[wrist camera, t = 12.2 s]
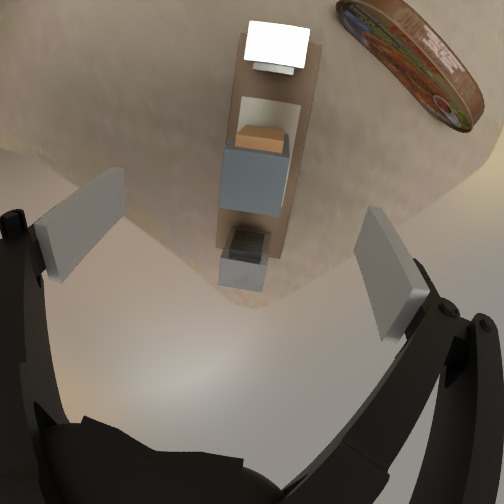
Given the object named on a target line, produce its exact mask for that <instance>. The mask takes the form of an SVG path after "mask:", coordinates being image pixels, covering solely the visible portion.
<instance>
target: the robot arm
mask: <svg viewBox="0 0 504 504" xmlns="http://www.w3.org/2000/svg"><path fill="white" fill-rule="evenodd" d="M125 213H126V202H125V184H124V168H121V167H111V168H110V169H108V170H107V171H105V172H104V173H102V174H100V175H99V176H97V177H96V178H94V179H93V180H91V181H90V182H88V183H87V184H86V185H84V186H83V187H81V188H80V189H79V190H77V191H76V192H74V193H73V194H72V195H70V196H69V197H67V198H66V199H65V200H63V201H62V202H60V203H59V204H58V205H57V206H55V207H53V208H52V209H51V210H49V211H48V212H47V213H46V214H44V215H43V216H42V217H41V218H39V219H38V220H37V221H36V222H34V223H33V224H32V225H31V226H30V227H29V228H28V227H27V223H26V219H25V214H24V211H23V210H22V209H15V210H11V211H8V212H6V213H5V214H3V215H2V216H1V217H0V231H1V234H2V239H0V504H373V502H374V501H375V500H376V498H377V497H378V496H379V494H380V493H381V492H382V490H383V489H384V487H385V486H386V484H387V482H388V480H389V477H390V475H389V474H388V469H389V467H390V465H391V464H392V462H393V461H394V459H395V458H396V456H397V455H398V453H399V451H400V450H401V448H402V446H403V445H404V443H405V441H406V440H407V438H408V436H409V435H410V433H411V431H412V429H413V427H414V426H415V424H416V422H417V420H418V418H419V416H420V414H421V412H422V410H423V408H424V406H425V404H426V402H427V400H428V398H429V396H430V394H431V392H432V390H433V387H434V385H435V383H436V381H437V378H438V376H439V374H440V378H439V386H438V393H437V399H436V405H435V411H434V416H433V421H432V426H431V431H430V435H429V439H428V443H427V448H426V451H425V455H424V459H423V462H422V466H421V469H420V473H419V476H418V479H417V482H416V485H415V488H414V491H413V494H412V497H411V499H410V502H409V504H495V502H496V497H497V491H498V486H499V480H500V473H501V464H502V455H503V443H504V380H503V367H502V358H501V349H500V342H499V336H498V329H497V327H496V325H495V323H494V321H493V320H492V319H491V318H490V317H489V316H487V315H485V314H482V313H477V314H476V315H475V316H474V318H473V319H472V321H469V320H466V319H464V318H461V317H460V313H459V310H458V308H457V307H456V306H455V305H454V304H453V303H452V302H451V301H449V300H447V299H445V298H441V297H440V296H439V294H438V292H437V290H436V288H435V286H434V285H433V283H432V281H430V280H431V279H430V278H429V276H428V275H427V272H426V270H425V269H424V267H423V266H422V265H421V264H420V263H419V262H418V261H417V260H416V259H415V258H412V257H411V255H410V253H409V252H408V250H407V248H406V247H405V245H404V243H403V242H402V240H401V239H400V237H399V235H398V233H397V232H396V230H395V229H394V227H393V225H392V224H391V222H390V221H389V219H388V218H387V216H386V215H385V213H384V211H383V210H382V209H381V208H376V207H372V206H369V207H368V210H367V213H366V216H365V219H364V222H363V225H362V228H361V231H360V234H359V236H358V239H357V242H356V245H355V248H354V252H355V255H356V258H357V261H358V264H359V267H360V270H361V273H362V276H363V280H364V283H365V286H366V289H367V293H368V296H369V299H370V302H371V306H372V309H373V313H374V316H375V320H376V323H377V327H378V331H379V335H380V338H381V342H387V343H398V342H399V340H400V339H401V337H402V336H403V334H404V333H405V335H406V338H407V341H406V343H405V344H404V346H403V347H402V349H401V350H400V351H399V353H398V354H397V355H396V357H395V360H394V361H393V363H392V364H391V366H390V367H389V369H388V370H387V371H386V373H385V375H384V376H383V377H382V379H381V380H380V382H379V383H378V384H377V386H376V387H375V388H374V390H373V391H372V392H371V394H370V395H369V397H368V398H367V399H366V401H365V402H364V403H363V404H362V406H361V407H360V408H359V409H358V411H357V412H356V413H355V415H354V416H353V417H352V418H351V419H350V421H349V422H348V423H347V424H346V425H345V427H344V428H343V429H342V430H341V431H340V432H339V434H338V435H337V436H336V437H335V438H334V439H333V440H332V441H331V443H330V444H329V445H328V446H327V447H326V448H325V449H324V450H323V451H322V452H321V453H320V454H319V455H318V456H317V458H316V459H315V460H314V461H313V462H312V463H311V464H310V465H309V466H308V467H307V468H306V469H304V470H303V471H302V472H301V473H300V474H299V475H298V476H297V477H296V478H295V479H293V480H292V481H291V482H290V483H289V484H288V485H286V486H285V487H284V488H283V489H282V490H280V489H279V488H278V487H277V486H276V485H275V484H274V483H273V482H271V481H270V480H269V479H267V478H266V477H264V476H262V475H261V474H259V473H257V472H255V471H253V470H251V469H248V468H245V467H243V461H244V459H241V458H234V457H228V456H222V455H216V454H210V453H205V452H163V451H155V450H153V449H151V448H149V447H147V446H145V445H144V444H142V443H140V442H139V441H137V440H135V439H134V438H132V437H130V436H129V435H127V434H126V433H124V432H122V431H121V430H119V429H117V428H115V427H111V426H109V425H107V424H104V423H101V422H98V421H96V420H94V419H91V418H89V417H87V416H84V417H83V419H82V422H81V423H70V422H69V420H68V419H67V417H66V415H65V413H64V410H63V407H62V403H61V400H60V395H59V391H58V387H57V382H56V378H55V373H54V368H53V363H52V357H51V351H50V344H49V337H48V330H47V321H46V311H45V299H44V281H43V278H42V275H41V273H42V272H43V271H44V270H45V269H46V270H47V273H48V277H49V279H50V280H52V281H55V282H59V283H63V282H64V280H65V279H66V278H67V277H68V275H69V274H70V273H71V272H72V271H73V270H74V268H75V267H76V266H77V265H78V264H79V263H80V262H81V260H82V259H83V258H84V257H85V256H86V255H87V254H88V252H89V251H90V250H91V249H92V248H93V247H94V246H95V245H96V244H97V243H98V241H99V240H100V239H101V238H102V237H103V236H104V235H105V234H106V233H107V232H108V231H109V230H110V229H111V228H112V227H113V226H114V225H115V224H116V223H117V221H118V220H119V219H120V218H121V217H122V216H123V215H124V214H125Z"/></svg>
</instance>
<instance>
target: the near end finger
mask: <svg viewBox="0 0 504 504" xmlns="http://www.w3.org/2000/svg"><path fill="white" fill-rule="evenodd" d="M309 33H310V29H306V28H301V27H295V26H289V25H282V24H275V23H267V22H258V21H250V23H249V29H248V36H247V42H246V48H245V55H244V60H245V61H247V62H249V63H250V64H252V65H253V70H255V71H257V72H264V73H271V74H277V75H284V76H290V77H292V76H293V73H294V72H299V73H300V72H301V71H302V69H303V68H304V63H305V57H306V51H307V45H308V39H309Z"/></svg>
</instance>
